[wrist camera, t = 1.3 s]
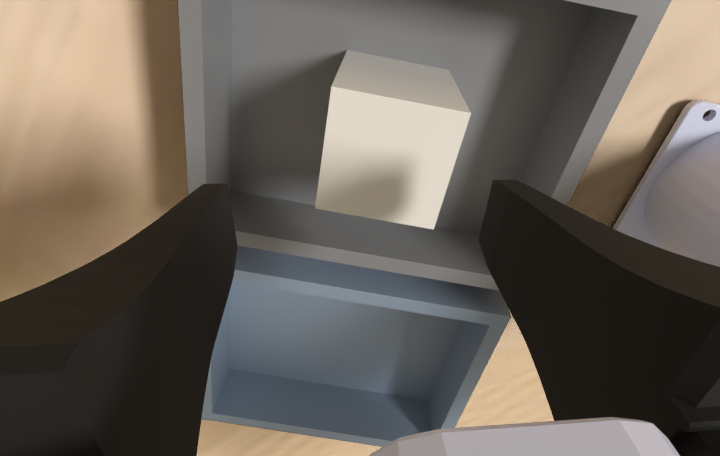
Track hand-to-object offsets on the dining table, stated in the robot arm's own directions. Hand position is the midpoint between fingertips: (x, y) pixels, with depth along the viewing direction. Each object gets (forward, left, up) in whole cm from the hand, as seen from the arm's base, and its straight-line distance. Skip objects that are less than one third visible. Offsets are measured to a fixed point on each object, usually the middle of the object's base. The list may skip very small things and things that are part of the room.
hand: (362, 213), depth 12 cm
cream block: (-1, 0, -9) cm, 9 cm away
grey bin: (-1, 0, -10) cm, 10 cm away
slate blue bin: (-1, +14, -10) cm, 18 cm away
